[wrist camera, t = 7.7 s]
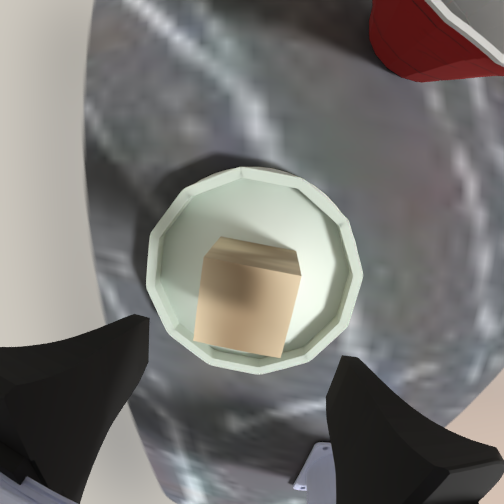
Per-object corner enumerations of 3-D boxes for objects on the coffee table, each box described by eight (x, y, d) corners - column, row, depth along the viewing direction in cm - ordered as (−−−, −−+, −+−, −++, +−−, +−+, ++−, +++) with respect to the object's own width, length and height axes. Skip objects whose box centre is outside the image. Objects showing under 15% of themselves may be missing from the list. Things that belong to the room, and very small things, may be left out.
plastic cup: (313, -25, 15) (334, -150, 3) (451, -6, 14) (535, -76, 2) (337, 117, 17) (422, 49, 6) (481, 126, 16) (613, 115, 5)
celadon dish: (377, 191, 18) (387, 194, 16) (325, 372, 22) (328, 387, 20) (167, 152, 18) (157, 151, 17) (149, 337, 22) (140, 349, 20)
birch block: (296, 250, 19) (301, 276, 14) (280, 319, 20) (280, 358, 15) (220, 236, 19) (203, 257, 14) (210, 305, 20) (193, 340, 16)
